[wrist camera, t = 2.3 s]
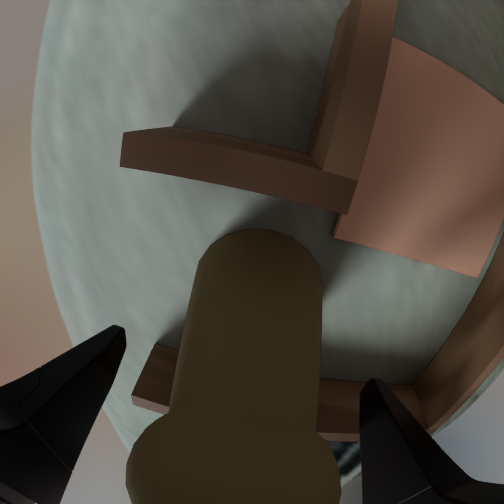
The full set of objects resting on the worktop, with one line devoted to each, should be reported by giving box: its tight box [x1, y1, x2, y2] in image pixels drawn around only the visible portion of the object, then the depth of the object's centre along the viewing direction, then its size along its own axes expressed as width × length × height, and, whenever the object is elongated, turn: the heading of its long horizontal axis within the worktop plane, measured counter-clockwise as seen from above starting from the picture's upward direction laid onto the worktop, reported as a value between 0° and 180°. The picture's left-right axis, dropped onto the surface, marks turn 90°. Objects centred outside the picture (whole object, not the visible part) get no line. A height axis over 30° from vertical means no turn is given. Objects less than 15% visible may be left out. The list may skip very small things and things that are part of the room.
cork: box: [126, 229, 341, 504], centre depth 9 cm, size 6×6×11 cm
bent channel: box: [120, 0, 504, 441], centre depth 10 cm, size 19×18×4 cm
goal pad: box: [333, 37, 504, 278], centre depth 10 cm, size 9×9×1 cm
